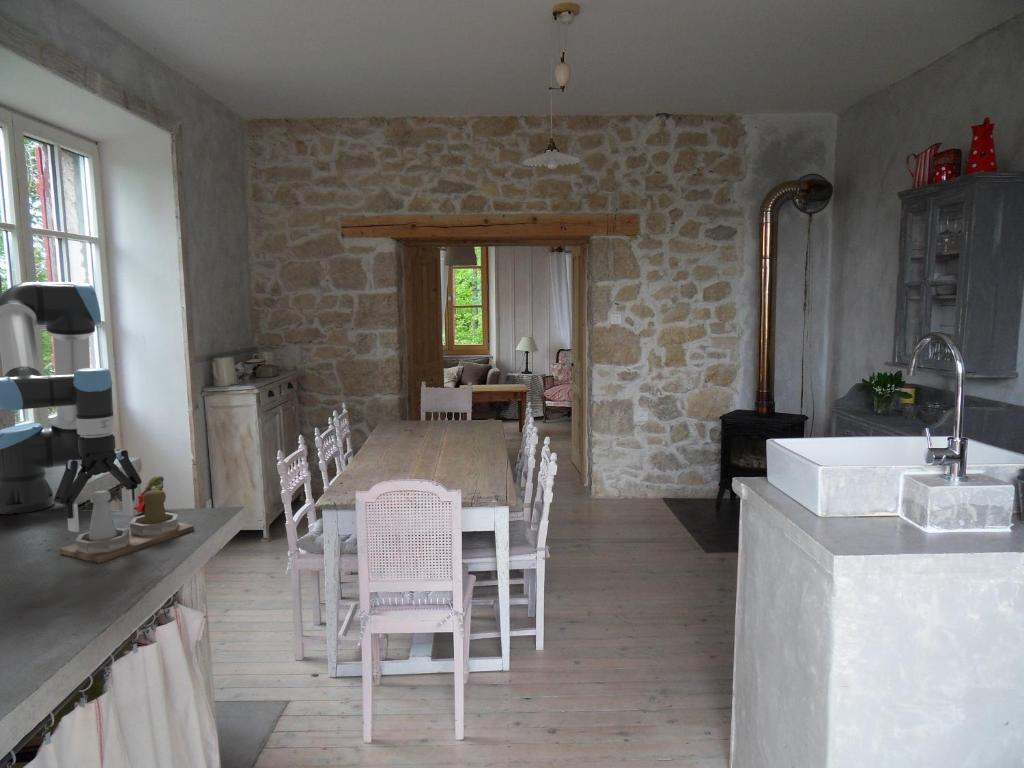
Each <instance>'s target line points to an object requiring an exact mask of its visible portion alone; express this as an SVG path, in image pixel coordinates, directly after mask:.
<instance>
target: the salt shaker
mask: <svg viewBox="0 0 1024 768" xmlns="http://www.w3.org/2000/svg"><path fill="white" fill-rule="evenodd" d="M111 499H112V495H111V492H110V491H109V490H103V489H102V490H97V491H96V490H95V491H93V492H91V493H89V501H90V503H92V505H93V506H92V512H91V517H90V525H89V531H88V532H89V536H88V537H89V540H90V541H91V542H93V541H103V540H110V539H113V538H116V536H117V532H116V528H117V527H116V525H115V522H114V518H113V514H112V510H111V506H110V502H109V501H111Z"/></svg>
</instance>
